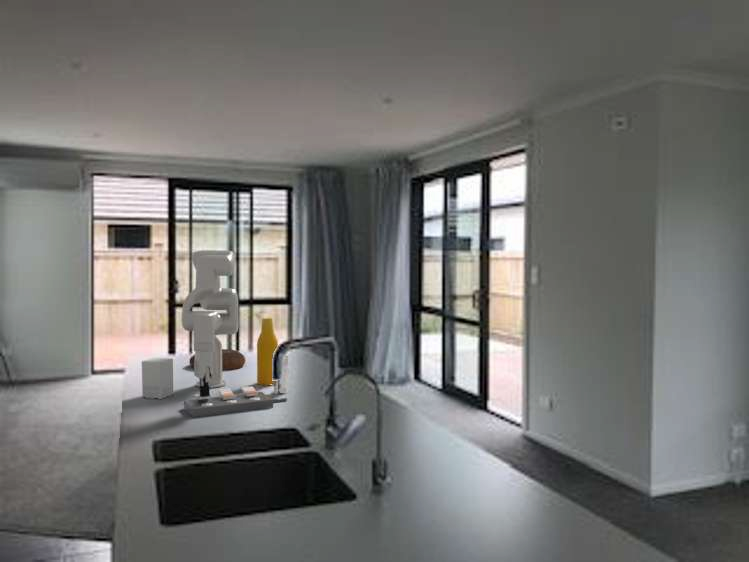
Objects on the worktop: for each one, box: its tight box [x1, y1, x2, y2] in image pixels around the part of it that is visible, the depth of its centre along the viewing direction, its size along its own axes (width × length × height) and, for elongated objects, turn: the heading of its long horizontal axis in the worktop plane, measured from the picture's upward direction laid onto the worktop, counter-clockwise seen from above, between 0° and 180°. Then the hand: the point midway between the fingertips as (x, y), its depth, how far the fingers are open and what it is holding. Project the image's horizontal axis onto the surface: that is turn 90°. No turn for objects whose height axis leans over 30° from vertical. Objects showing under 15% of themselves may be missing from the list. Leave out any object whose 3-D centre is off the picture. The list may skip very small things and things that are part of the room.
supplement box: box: [141, 357, 174, 400], centre depth 253 cm, size 9×9×15 cm
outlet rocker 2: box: [240, 386, 259, 396], centre depth 242 cm, size 7×4×1 cm, turn 29°
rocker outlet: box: [194, 393, 212, 400], centre depth 234 cm, size 7×4×1 cm, turn 29°
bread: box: [189, 348, 246, 372], centre depth 317 cm, size 28×27×9 cm
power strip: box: [183, 391, 288, 418], centre depth 238 cm, size 14×38×4 cm, turn 119°
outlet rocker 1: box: [218, 387, 236, 400], centre depth 238 cm, size 7×4×1 cm, turn 29°
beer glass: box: [272, 355, 290, 394], centre depth 261 cm, size 7×7×15 cm
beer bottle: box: [256, 317, 279, 386], centre depth 277 cm, size 9×9×29 cm
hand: (204, 396), depth 231 cm, fingers closed
